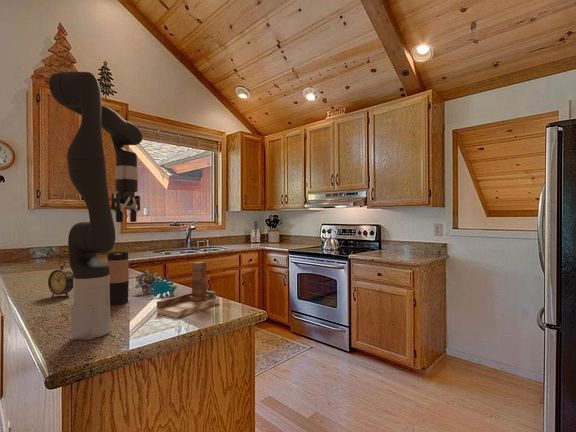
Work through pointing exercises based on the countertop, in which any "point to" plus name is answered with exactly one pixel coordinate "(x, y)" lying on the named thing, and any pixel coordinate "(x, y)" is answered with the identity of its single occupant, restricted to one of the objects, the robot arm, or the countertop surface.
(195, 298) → the panel
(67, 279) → the alarm clock
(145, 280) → the passion flower
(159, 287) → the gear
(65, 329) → the countertop surface
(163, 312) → the board
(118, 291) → the travel mug
